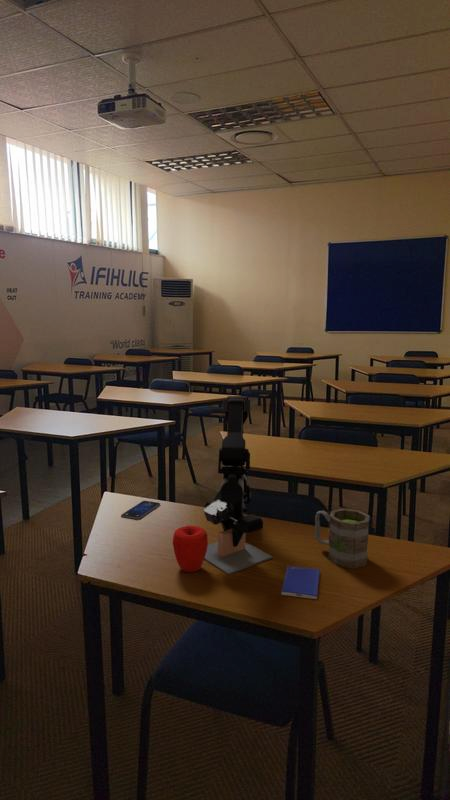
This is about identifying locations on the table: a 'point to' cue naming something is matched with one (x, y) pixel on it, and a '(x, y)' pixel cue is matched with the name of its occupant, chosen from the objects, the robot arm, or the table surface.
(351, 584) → the table surface
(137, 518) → the smartphone
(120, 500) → the table surface
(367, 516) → the mug
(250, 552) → the mat
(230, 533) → the tile
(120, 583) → the table surface
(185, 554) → the apple
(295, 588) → the hard drive
